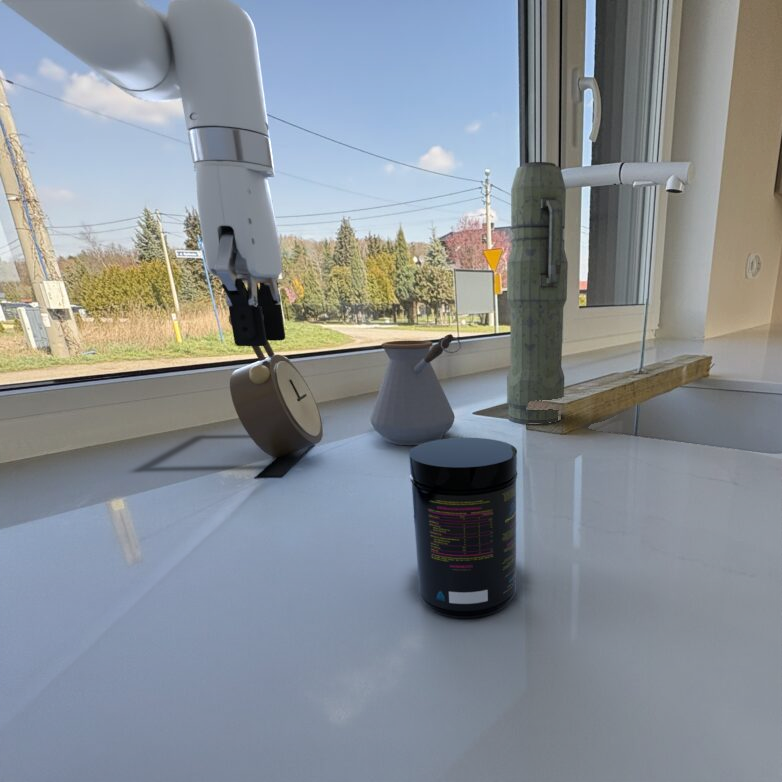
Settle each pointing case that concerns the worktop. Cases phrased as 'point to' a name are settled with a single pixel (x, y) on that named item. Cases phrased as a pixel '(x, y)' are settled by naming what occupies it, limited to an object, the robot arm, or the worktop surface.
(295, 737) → the worktop surface
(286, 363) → the clock
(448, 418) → the coffee pot
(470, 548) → the supplement container
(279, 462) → the mat
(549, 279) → the thermos
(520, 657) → the worktop surface
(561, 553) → the worktop surface
